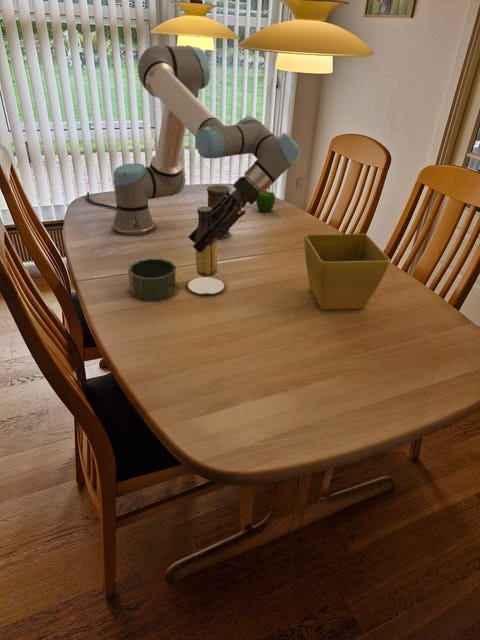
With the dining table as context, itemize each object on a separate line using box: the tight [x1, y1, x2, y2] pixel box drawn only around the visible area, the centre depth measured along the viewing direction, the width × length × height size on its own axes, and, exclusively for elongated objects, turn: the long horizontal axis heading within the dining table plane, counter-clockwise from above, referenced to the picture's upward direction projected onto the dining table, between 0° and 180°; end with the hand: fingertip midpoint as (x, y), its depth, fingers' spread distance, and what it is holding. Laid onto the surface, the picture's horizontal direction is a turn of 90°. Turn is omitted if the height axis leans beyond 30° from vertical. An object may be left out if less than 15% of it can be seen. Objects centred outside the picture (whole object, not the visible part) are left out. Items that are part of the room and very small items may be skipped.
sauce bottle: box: [194, 205, 218, 278], centre depth 125 cm, size 6×6×20 cm
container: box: [206, 184, 231, 240], centre depth 164 cm, size 9×9×18 cm
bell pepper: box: [255, 189, 276, 213], centre depth 193 cm, size 8×8×10 cm
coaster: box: [187, 276, 225, 297], centre depth 133 cm, size 11×11×1 cm
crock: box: [127, 258, 178, 302], centre depth 128 cm, size 13×13×7 cm
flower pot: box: [304, 233, 391, 311], centre depth 126 cm, size 19×19×17 cm
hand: (194, 244), depth 125 cm, fingers closed on sauce bottle, 6 cm apart
